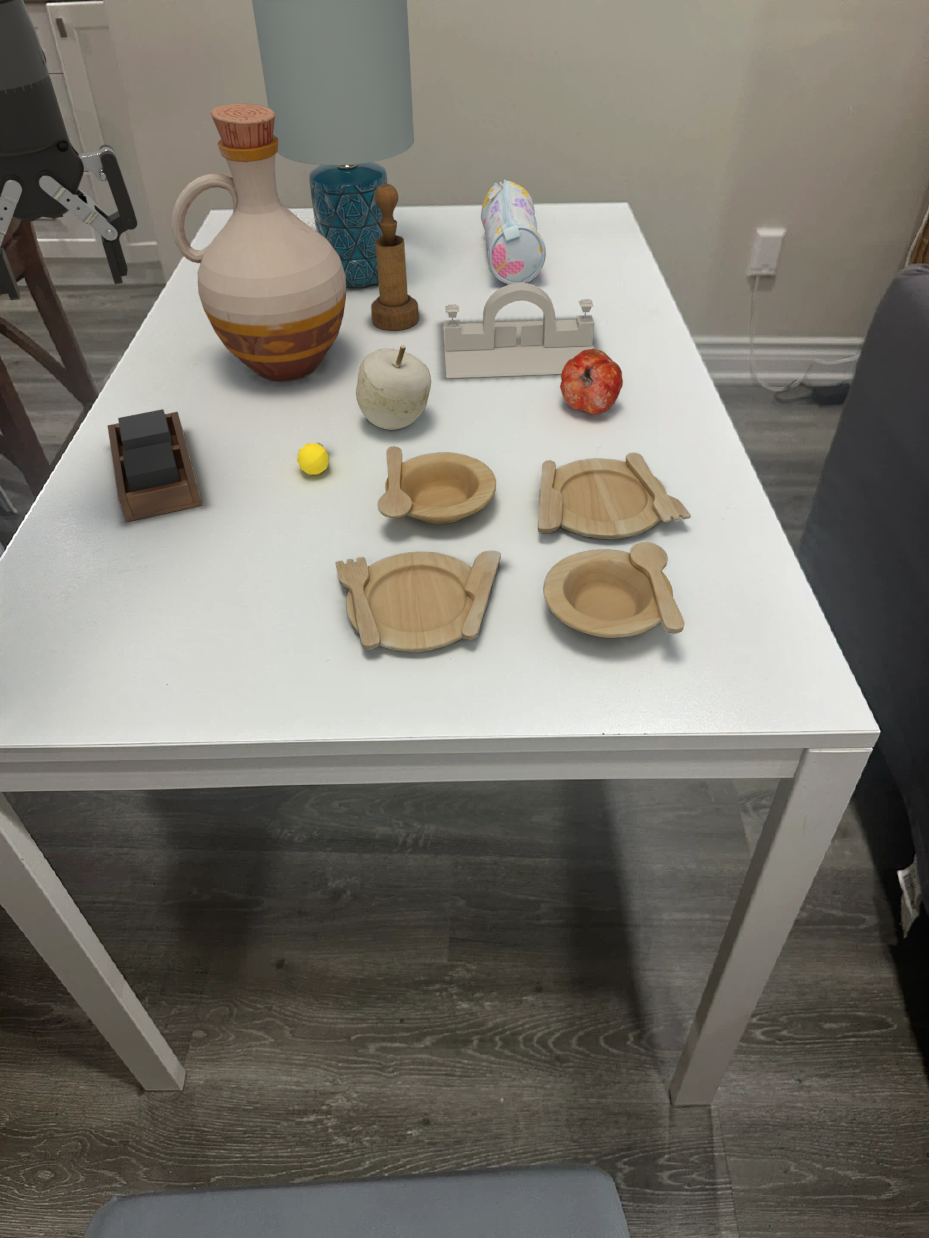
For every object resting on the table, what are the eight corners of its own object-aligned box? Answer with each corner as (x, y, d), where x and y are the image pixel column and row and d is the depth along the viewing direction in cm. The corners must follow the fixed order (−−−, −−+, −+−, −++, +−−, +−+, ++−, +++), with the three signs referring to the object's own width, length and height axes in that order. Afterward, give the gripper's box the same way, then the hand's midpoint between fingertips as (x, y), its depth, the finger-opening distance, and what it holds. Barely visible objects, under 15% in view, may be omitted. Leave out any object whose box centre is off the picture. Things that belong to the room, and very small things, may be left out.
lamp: (306, 252, 141) (265, -38, 114) (425, 252, 140) (411, -39, 113) (284, 304, 127) (232, -10, 100) (415, 305, 126) (397, -12, 100)
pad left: (137, 507, 92) (126, 476, 89) (132, 481, 95) (121, 451, 92) (185, 497, 93) (175, 466, 90) (178, 471, 96) (169, 441, 94)
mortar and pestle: (390, 335, 120) (378, 198, 107) (363, 319, 123) (349, 185, 110) (428, 321, 123) (421, 185, 110) (400, 305, 126) (391, 173, 113)
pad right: (132, 471, 97) (121, 440, 94) (128, 448, 100) (117, 417, 97) (177, 462, 98) (168, 431, 95) (172, 439, 101) (163, 409, 98)
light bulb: (303, 483, 95) (289, 454, 94) (311, 466, 100) (298, 437, 99) (331, 473, 95) (318, 444, 93) (338, 456, 100) (325, 428, 98)
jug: (191, 404, 108) (120, 137, 86) (218, 336, 120) (162, 89, 99) (349, 400, 107) (316, 133, 86) (359, 333, 120) (333, 86, 99)
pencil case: (480, 237, 144) (480, 176, 137) (532, 235, 144) (535, 174, 137) (487, 292, 129) (487, 226, 122) (545, 290, 129) (549, 224, 122)
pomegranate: (564, 405, 110) (537, 390, 101) (591, 351, 108) (565, 330, 99) (615, 429, 108) (591, 416, 98) (642, 374, 106) (621, 355, 97)
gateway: (445, 351, 116) (443, 292, 110) (445, 343, 118) (443, 285, 112) (592, 346, 116) (597, 287, 111) (589, 337, 118) (594, 279, 112)
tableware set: (670, 467, 96) (676, 435, 93) (722, 661, 76) (732, 628, 73) (356, 469, 97) (352, 437, 94) (322, 661, 76) (315, 629, 73)
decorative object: (346, 418, 105) (337, 341, 98) (409, 397, 108) (404, 321, 101) (381, 453, 99) (374, 374, 92) (447, 429, 102) (444, 351, 95)
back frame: (126, 522, 91) (118, 499, 89) (115, 447, 101) (107, 425, 99) (202, 505, 93) (196, 482, 91) (183, 433, 103) (177, 411, 101)
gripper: (-117, 97, 60) (-21, 321, 71) (97, 75, 63) (156, 292, 75) (-107, 72, 65) (-19, 285, 76) (91, 53, 68) (147, 259, 80)
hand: (68, 288), depth 75 cm, fingers open, 8 cm apart
